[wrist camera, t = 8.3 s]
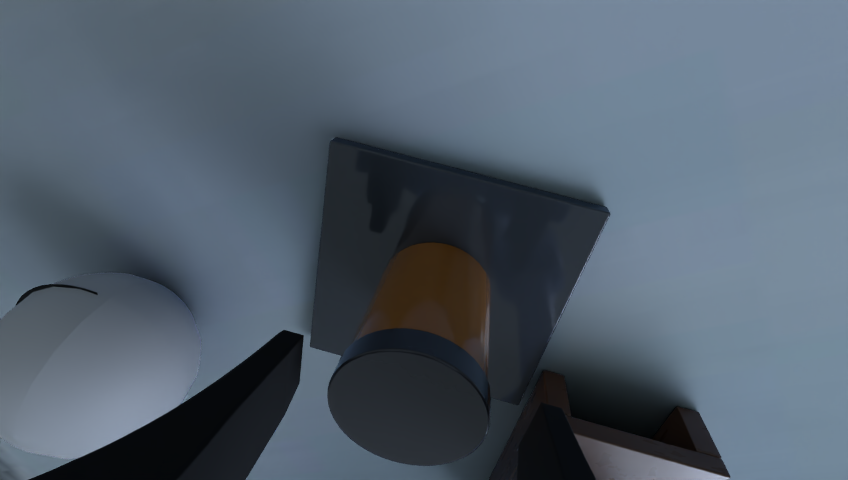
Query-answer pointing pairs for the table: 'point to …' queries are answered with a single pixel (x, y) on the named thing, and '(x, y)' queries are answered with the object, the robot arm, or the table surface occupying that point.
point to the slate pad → (457, 226)
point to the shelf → (623, 443)
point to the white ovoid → (92, 362)
